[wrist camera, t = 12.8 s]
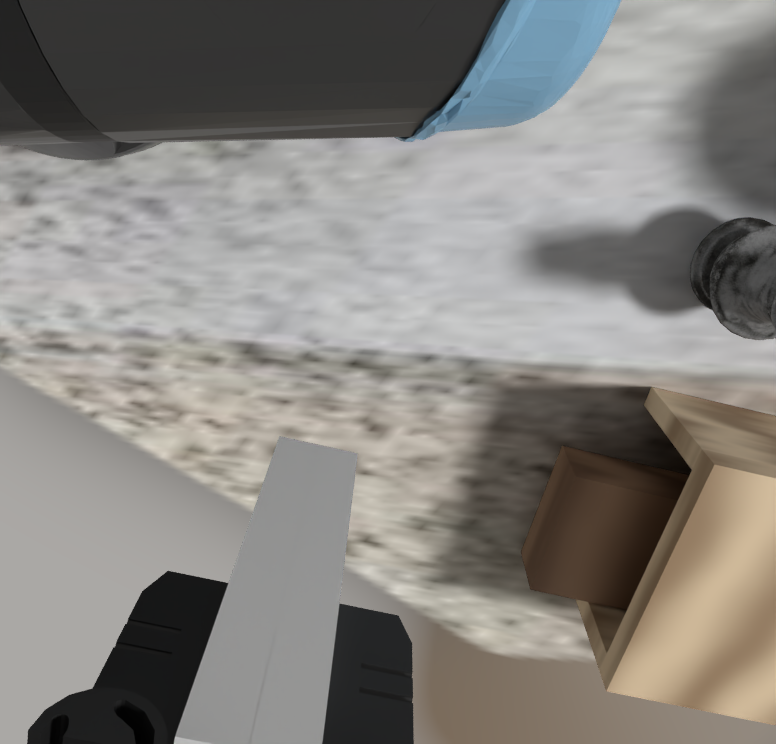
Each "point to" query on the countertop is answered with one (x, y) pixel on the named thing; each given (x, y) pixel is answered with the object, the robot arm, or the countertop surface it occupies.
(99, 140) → the robot arm
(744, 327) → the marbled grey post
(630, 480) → the dark brown block
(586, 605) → the oak bridge
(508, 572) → the countertop surface
